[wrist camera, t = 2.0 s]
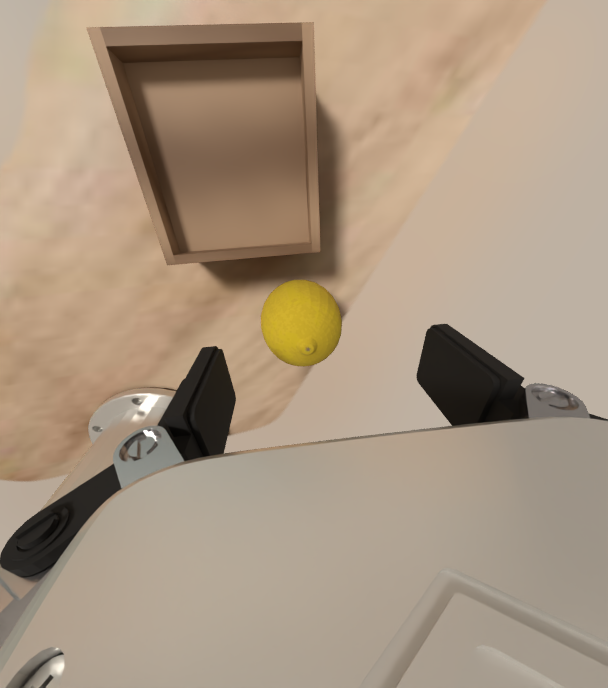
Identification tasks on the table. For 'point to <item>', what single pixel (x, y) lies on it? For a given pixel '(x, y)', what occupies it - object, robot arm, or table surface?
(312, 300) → the lemon
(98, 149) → the table surface
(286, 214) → the walnut tray
